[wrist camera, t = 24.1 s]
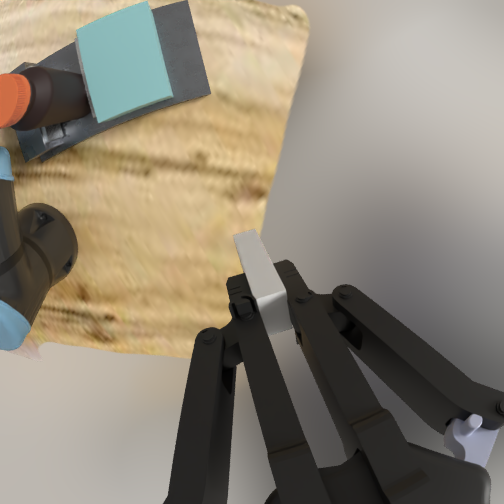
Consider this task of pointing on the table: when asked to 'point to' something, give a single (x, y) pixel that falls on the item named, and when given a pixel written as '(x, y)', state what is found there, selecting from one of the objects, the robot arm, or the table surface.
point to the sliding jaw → (122, 63)
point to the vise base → (183, 88)
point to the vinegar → (41, 98)
